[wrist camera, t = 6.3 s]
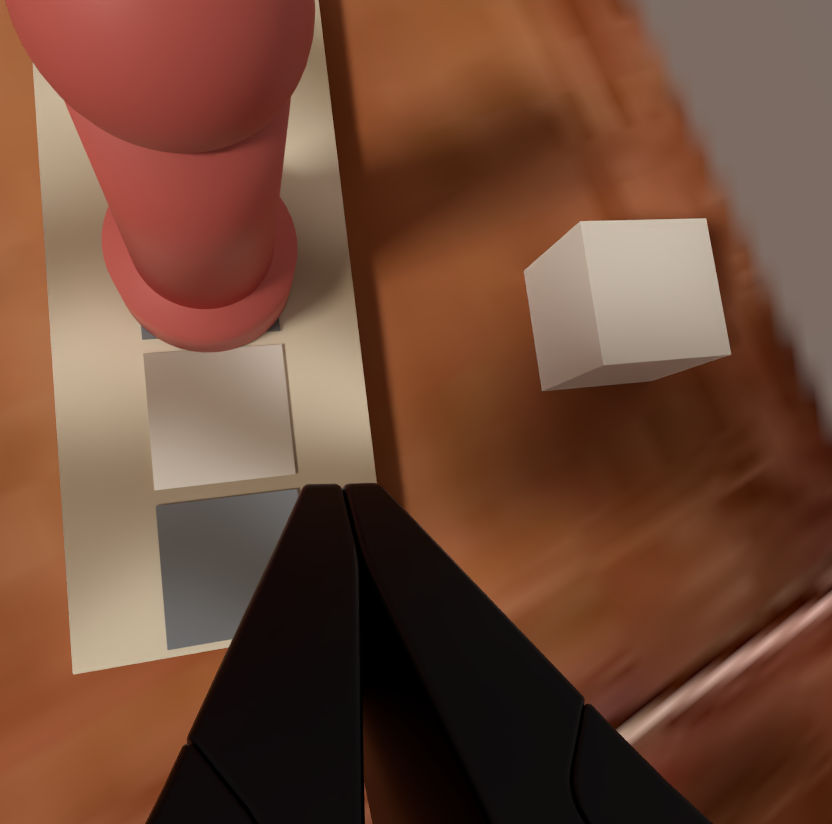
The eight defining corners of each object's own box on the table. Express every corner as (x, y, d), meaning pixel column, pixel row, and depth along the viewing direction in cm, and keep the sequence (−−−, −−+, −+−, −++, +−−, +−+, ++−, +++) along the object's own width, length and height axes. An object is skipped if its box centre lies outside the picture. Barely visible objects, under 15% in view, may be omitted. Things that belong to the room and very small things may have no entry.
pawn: (300, 346, 19) (392, 78, 7) (122, 358, 18) (-99, 62, 6) (283, 189, 20) (342, -289, 8) (110, 192, 19) (-116, -366, 7)
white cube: (650, 381, 23) (731, 354, 19) (540, 391, 22) (603, 365, 18) (630, 267, 24) (706, 218, 20) (522, 271, 23) (579, 221, 19)
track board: (385, 613, 20) (394, 618, 19) (82, 666, 18) (72, 675, 17) (309, -23, 22) (313, -50, 21) (34, -41, 20) (22, -73, 19)
